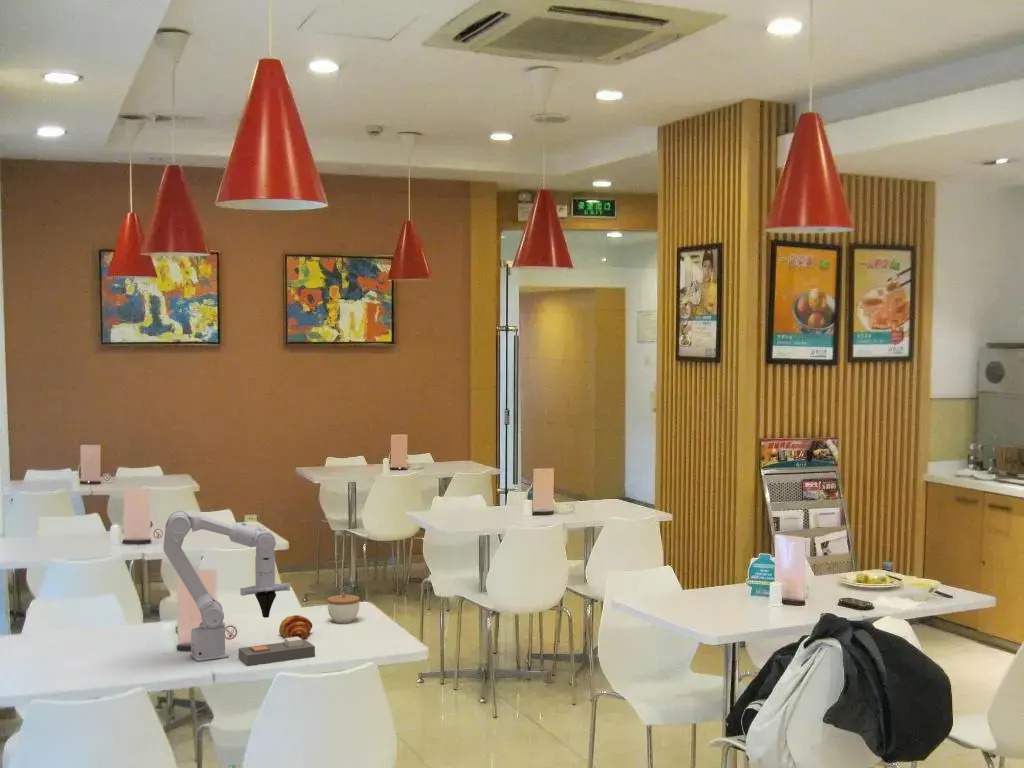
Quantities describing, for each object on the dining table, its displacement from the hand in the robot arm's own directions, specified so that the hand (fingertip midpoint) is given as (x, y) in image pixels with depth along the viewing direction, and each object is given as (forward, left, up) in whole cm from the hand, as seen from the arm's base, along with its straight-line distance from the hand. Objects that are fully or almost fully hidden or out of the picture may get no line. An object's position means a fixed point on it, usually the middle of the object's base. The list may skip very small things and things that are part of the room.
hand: (265, 616), depth 319 cm
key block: (+1, -8, -10) cm, 13 cm away
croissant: (+14, +15, -11) cm, 24 cm away
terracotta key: (-4, -8, -10) cm, 13 cm away
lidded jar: (+34, +25, -11) cm, 43 cm away
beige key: (+6, -8, -9) cm, 13 cm away
